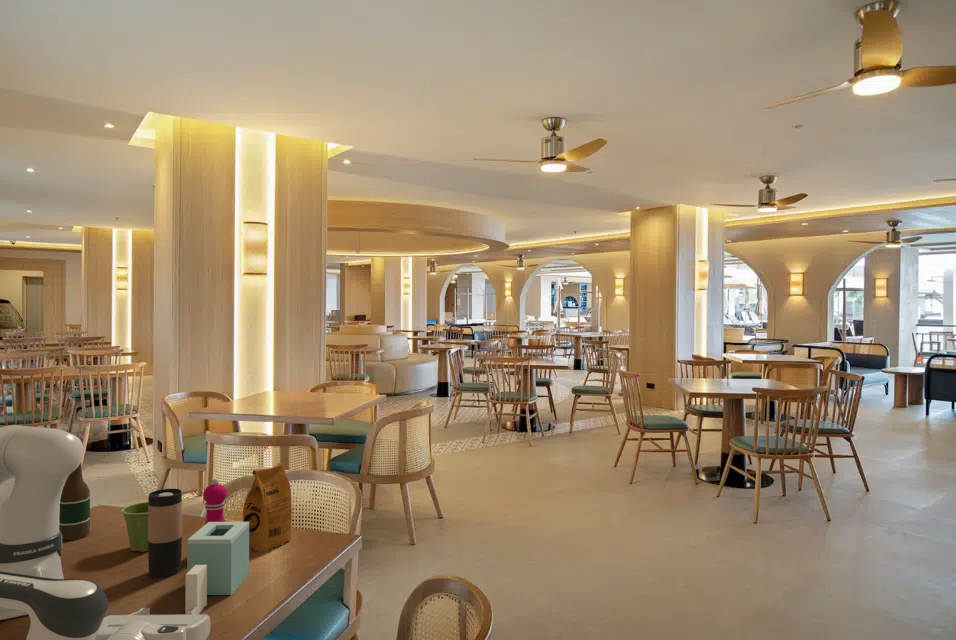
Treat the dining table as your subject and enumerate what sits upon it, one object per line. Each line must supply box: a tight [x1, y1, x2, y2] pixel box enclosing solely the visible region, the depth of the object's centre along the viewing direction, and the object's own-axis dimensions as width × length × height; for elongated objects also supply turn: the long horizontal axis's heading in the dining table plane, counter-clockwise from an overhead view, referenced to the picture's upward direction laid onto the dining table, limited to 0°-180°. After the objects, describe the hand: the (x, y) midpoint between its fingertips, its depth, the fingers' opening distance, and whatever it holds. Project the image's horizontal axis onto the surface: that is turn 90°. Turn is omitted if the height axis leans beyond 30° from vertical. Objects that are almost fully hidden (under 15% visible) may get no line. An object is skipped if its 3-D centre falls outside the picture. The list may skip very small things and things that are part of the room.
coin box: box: [186, 521, 250, 596], centre depth 146 cm, size 12×10×13 cm
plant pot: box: [121, 501, 148, 553], centre depth 169 cm, size 12×12×11 cm
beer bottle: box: [59, 462, 91, 541], centre depth 177 cm, size 8×8×24 cm
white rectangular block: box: [184, 565, 208, 615], centre depth 133 cm, size 5×2×9 cm, turn 2°
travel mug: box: [147, 488, 183, 579], centre depth 153 cm, size 8×8×20 cm
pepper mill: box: [202, 478, 228, 525], centre depth 166 cm, size 7×7×20 cm
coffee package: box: [242, 462, 293, 553], centre depth 172 cm, size 10×12×22 cm
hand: (170, 611), depth 121 cm, fingers open, 8 cm apart
